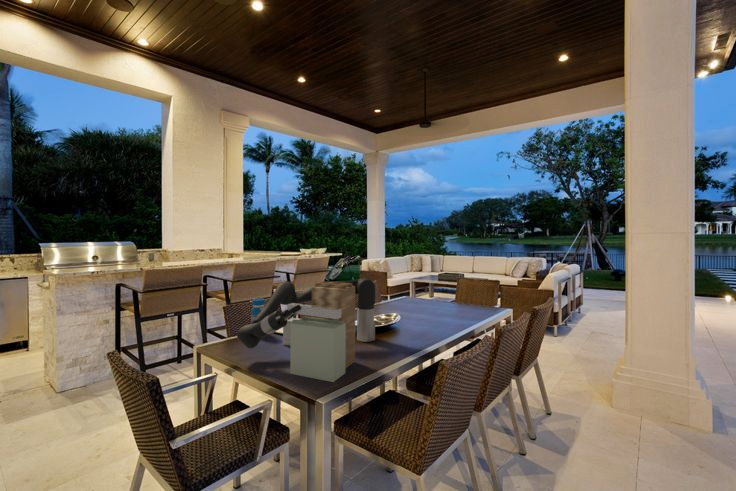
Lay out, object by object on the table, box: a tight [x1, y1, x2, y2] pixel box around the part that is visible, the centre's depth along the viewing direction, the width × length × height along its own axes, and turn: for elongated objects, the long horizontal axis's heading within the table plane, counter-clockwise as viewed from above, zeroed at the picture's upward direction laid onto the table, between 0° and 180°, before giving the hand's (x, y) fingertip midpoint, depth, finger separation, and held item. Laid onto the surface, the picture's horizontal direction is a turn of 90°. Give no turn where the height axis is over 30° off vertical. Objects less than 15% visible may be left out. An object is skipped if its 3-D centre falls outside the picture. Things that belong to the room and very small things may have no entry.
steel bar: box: [286, 303, 342, 319], centre depth 145 cm, size 24×4×4 cm, turn 65°
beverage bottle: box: [250, 297, 266, 324], centre depth 203 cm, size 8×8×20 cm
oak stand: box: [311, 281, 356, 369], centre depth 156 cm, size 15×12×36 cm
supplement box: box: [282, 317, 302, 346], centre depth 185 cm, size 7×7×13 cm
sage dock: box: [289, 315, 346, 383], centre depth 145 cm, size 20×10×22 cm, turn 65°
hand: (302, 306), depth 147 cm, fingers closed on steel bar, 3 cm apart
